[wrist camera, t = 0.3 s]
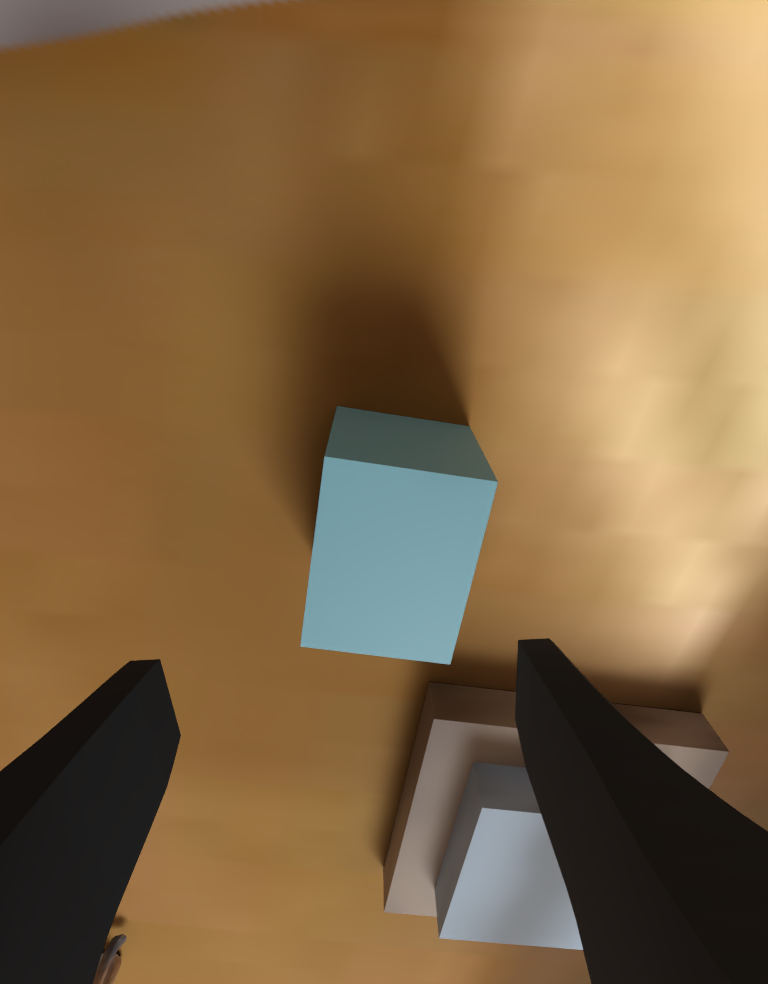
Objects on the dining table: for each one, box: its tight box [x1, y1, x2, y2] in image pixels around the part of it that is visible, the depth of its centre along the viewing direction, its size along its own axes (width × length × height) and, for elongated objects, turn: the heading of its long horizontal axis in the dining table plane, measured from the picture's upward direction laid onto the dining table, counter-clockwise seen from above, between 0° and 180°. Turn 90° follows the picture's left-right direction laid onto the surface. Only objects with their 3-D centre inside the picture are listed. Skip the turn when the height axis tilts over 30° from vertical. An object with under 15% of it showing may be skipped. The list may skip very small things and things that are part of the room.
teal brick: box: [301, 406, 498, 665], centre depth 18 cm, size 4×6×5 cm
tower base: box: [383, 682, 729, 950], centre depth 24 cm, size 12×12×4 cm
